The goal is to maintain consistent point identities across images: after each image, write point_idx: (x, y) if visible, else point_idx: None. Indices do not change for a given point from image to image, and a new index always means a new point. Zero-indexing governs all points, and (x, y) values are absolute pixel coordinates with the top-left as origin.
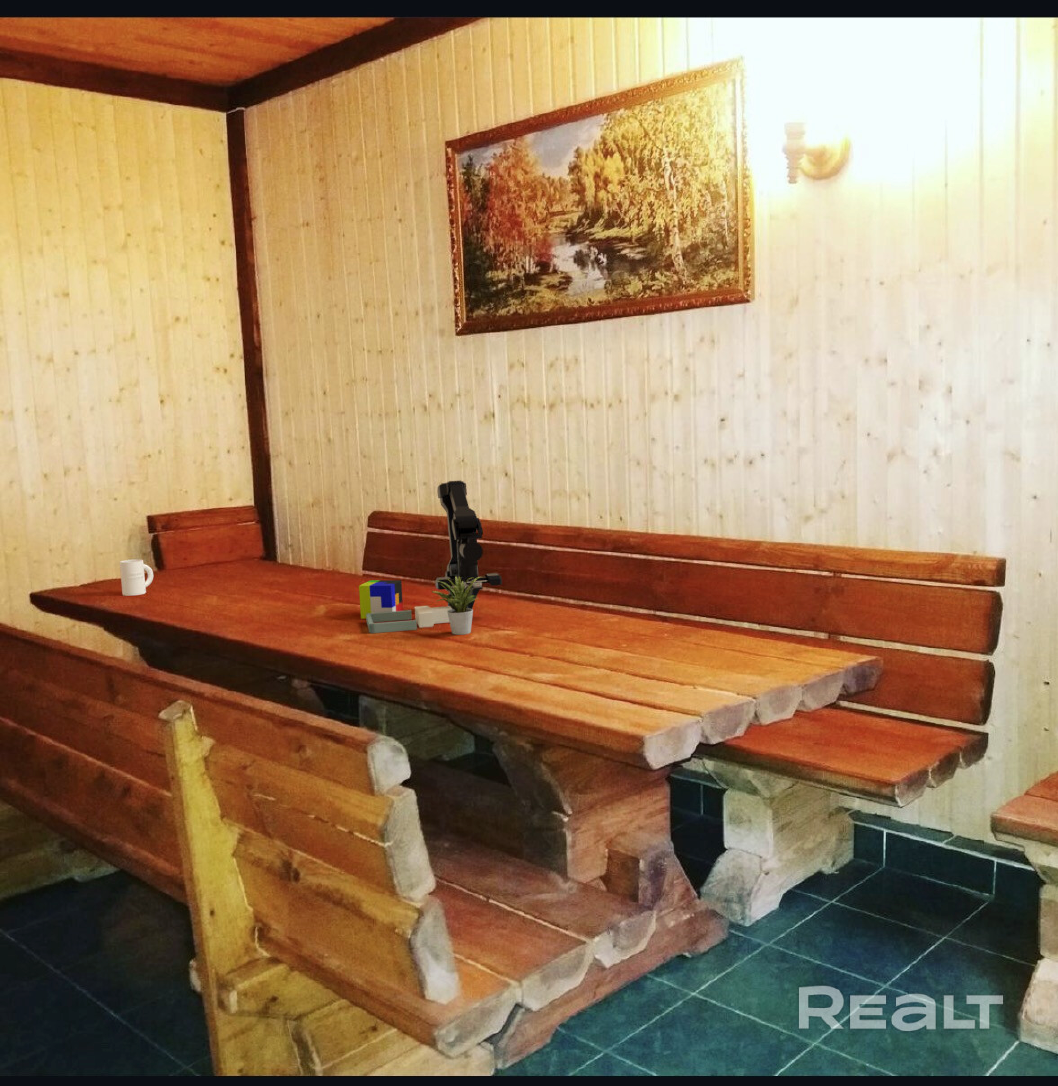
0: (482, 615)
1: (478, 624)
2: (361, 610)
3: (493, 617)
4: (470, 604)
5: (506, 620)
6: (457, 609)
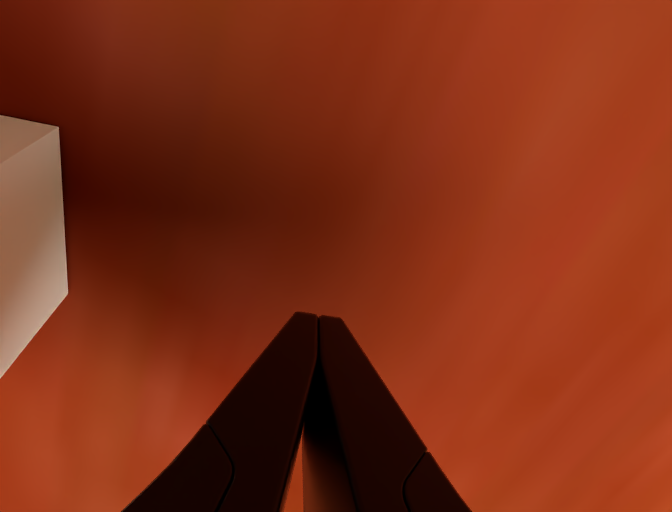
0: (586, 90)
1: (300, 495)
2: None
3: (604, 302)
4: (304, 454)
5: (596, 480)
6: None
